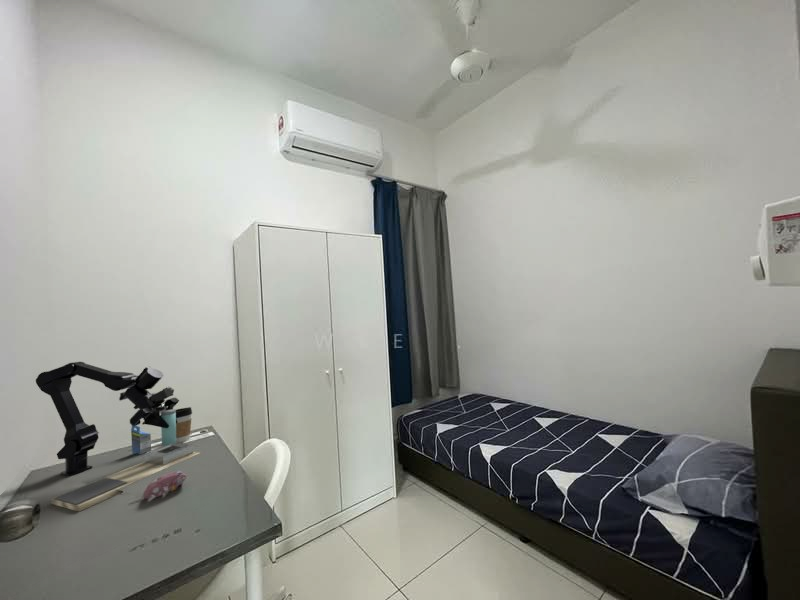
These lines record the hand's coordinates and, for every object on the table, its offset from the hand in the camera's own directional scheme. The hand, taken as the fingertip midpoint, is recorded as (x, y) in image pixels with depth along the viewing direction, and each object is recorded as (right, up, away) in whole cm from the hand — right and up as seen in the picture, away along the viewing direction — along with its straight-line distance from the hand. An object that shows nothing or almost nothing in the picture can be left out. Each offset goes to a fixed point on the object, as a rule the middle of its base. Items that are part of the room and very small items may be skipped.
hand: (172, 425), depth 116 cm
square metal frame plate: (-1, -12, -1) cm, 12 cm away
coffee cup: (-9, -16, +18) cm, 25 cm away
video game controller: (+16, -11, -24) cm, 31 cm away
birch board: (-4, -13, -12) cm, 18 cm away
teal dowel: (-1, -7, -1) cm, 7 cm away
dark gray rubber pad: (-8, -11, -23) cm, 26 cm away
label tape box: (-19, -16, +9) cm, 26 cm away
